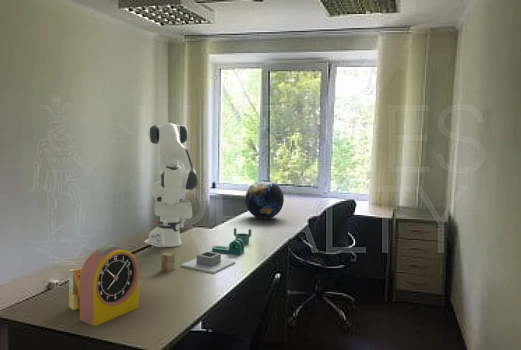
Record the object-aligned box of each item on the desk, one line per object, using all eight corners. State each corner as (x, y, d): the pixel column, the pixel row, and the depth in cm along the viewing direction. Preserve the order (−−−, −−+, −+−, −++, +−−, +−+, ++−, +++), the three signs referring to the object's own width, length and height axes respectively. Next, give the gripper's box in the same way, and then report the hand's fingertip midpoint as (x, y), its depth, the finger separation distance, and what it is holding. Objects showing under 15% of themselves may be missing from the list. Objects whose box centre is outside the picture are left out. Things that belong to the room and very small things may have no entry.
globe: (259, 213, 379) (260, 176, 375) (290, 218, 361) (291, 180, 358) (236, 218, 355) (237, 179, 351) (268, 224, 337) (270, 184, 334)
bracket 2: (252, 244, 282) (252, 229, 282) (238, 245, 278) (239, 230, 277) (244, 240, 290) (245, 226, 289) (231, 242, 285) (232, 227, 285)
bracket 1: (244, 252, 264) (244, 239, 263) (240, 255, 257) (240, 241, 257) (214, 249, 269) (215, 235, 268) (210, 252, 263) (210, 238, 262)
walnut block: (161, 270, 227) (161, 254, 226) (167, 268, 231) (167, 252, 230) (168, 272, 225) (168, 256, 224) (174, 269, 229) (174, 253, 228)
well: (181, 266, 234) (181, 255, 233) (203, 257, 252) (204, 247, 251) (214, 273, 225) (214, 262, 224) (235, 263, 242) (235, 253, 242)
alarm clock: (95, 326, 164) (94, 253, 161) (78, 319, 169) (78, 249, 166) (139, 307, 182) (139, 241, 179) (123, 301, 187) (123, 238, 184)
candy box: (90, 301, 186) (90, 264, 184) (95, 304, 183) (95, 267, 181) (68, 307, 179) (68, 269, 178) (73, 310, 176) (73, 271, 175)
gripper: (194, 199, 223) (194, 227, 225) (160, 195, 232) (160, 223, 233) (187, 201, 217) (187, 229, 219) (152, 197, 226) (152, 225, 227)
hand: (173, 226), depth 226 cm, fingers open, 8 cm apart
